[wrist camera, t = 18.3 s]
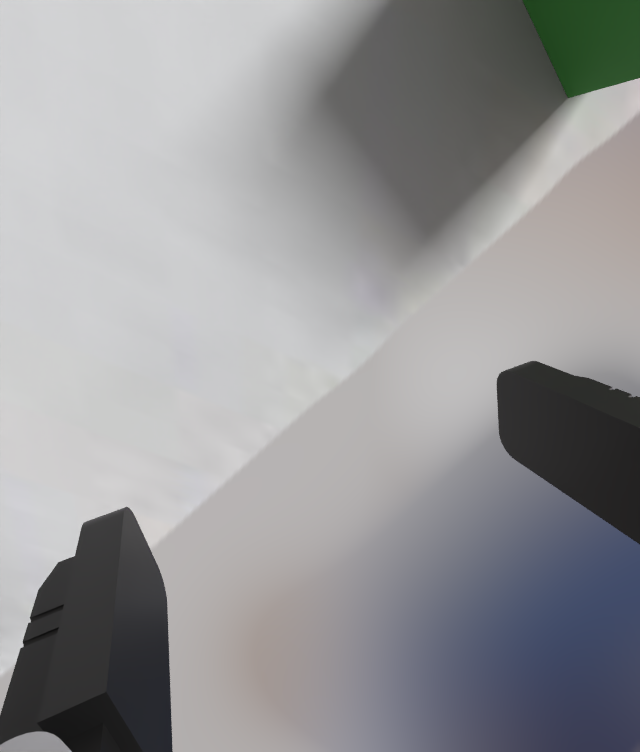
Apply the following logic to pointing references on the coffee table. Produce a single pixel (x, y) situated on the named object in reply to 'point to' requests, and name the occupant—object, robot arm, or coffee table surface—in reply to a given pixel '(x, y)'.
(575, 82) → the hardback book
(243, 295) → the coffee table surface
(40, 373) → the coffee table surface
